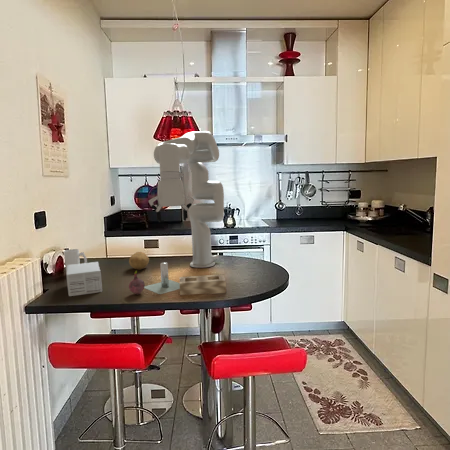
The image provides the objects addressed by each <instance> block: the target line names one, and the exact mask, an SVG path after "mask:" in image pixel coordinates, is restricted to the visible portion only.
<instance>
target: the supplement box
mask: <svg viewBox="0 0 450 450" xmlns="http://www.w3.org/2000/svg"><path fill="white" fill-rule="evenodd" d="M100 268H101V267H100V263H99V261H91V262H86V263H84V262H82V263H80V264H72V265H67V274H66V285H67V293H68V297H72V296H73V297H75V296H82V295H89V294H95V293H103V283H102V273H101V271H102V270H101V269H100Z"/></svg>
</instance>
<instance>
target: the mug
mask: <svg viewBox="0 0 450 450" xmlns="http://www.w3.org/2000/svg"><path fill="white" fill-rule="evenodd" d="M63 255H64V256H63V257H64V258H63V259H64V265H65V273H66V275H67V265H72V264H81V263H80V261H81V260H80V256H82V257H83V260H84V262H83V263H88V259H87V255H86V254H85V253H84V251H82V252H80V249H78V248H73V249H72V248H71V249H66V250H63Z"/></svg>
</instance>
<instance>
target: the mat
mask: <svg viewBox="0 0 450 450" xmlns="http://www.w3.org/2000/svg"><path fill="white" fill-rule="evenodd" d="M144 289H145V290H148V291H150V292H153V293H154V294H158V295H162V294H163V295H164V294H167V293H171V292H175V291H177V290H180V282H178V281H175V280H172V279H169V287H167V288H162V285H161V281H160V282H157V283H156V282H155V283H152V284H148V285H145V287H144Z"/></svg>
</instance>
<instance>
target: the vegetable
mask: <svg viewBox="0 0 450 450" xmlns="http://www.w3.org/2000/svg"><path fill="white" fill-rule="evenodd" d="M137 274H138V270H135V271H134V273H133V279H131V281H130V282H129V283H128V289H129V291H130V292H131V293H133V294H135V295H141V293H142V292H143V290H144V289H145V288H144V287H145V286H146V285H145V282H144V280H143V279H141V278H139V277H138V275H137Z"/></svg>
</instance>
